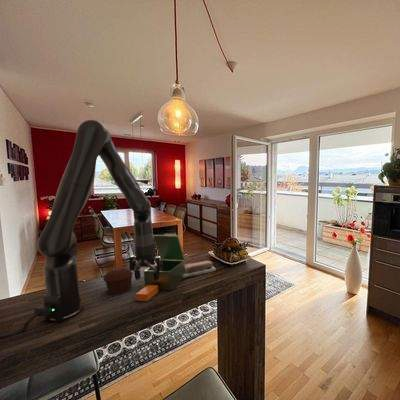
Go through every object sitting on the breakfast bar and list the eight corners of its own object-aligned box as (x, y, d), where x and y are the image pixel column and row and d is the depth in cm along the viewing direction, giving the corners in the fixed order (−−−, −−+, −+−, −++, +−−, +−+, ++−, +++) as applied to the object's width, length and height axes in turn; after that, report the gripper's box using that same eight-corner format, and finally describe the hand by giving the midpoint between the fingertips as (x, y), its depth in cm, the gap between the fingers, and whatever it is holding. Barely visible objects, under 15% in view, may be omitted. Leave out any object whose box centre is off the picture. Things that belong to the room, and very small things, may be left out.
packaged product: (182, 269, 116) (177, 263, 124) (182, 278, 116) (178, 272, 124) (216, 262, 126) (209, 257, 134) (216, 271, 126) (209, 265, 135)
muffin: (138, 283, 112) (137, 263, 111) (126, 294, 101) (124, 273, 100) (113, 284, 111) (111, 264, 110) (98, 296, 100) (96, 274, 99)
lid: (177, 236, 111) (181, 230, 115) (153, 235, 112) (158, 230, 116) (184, 260, 118) (187, 254, 122) (161, 259, 119) (165, 253, 123)
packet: (158, 291, 104) (158, 285, 103) (147, 301, 96) (146, 294, 95) (148, 291, 104) (147, 284, 104) (136, 300, 96) (135, 293, 96)
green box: (170, 290, 105) (169, 272, 104) (145, 288, 106) (143, 270, 105) (185, 276, 119) (184, 260, 118) (162, 275, 121) (162, 259, 120)
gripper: (122, 245, 95) (126, 282, 97) (154, 246, 93) (157, 284, 95) (135, 240, 102) (138, 275, 104) (164, 241, 100) (167, 276, 102)
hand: (147, 279), depth 99 cm, fingers open, 8 cm apart
